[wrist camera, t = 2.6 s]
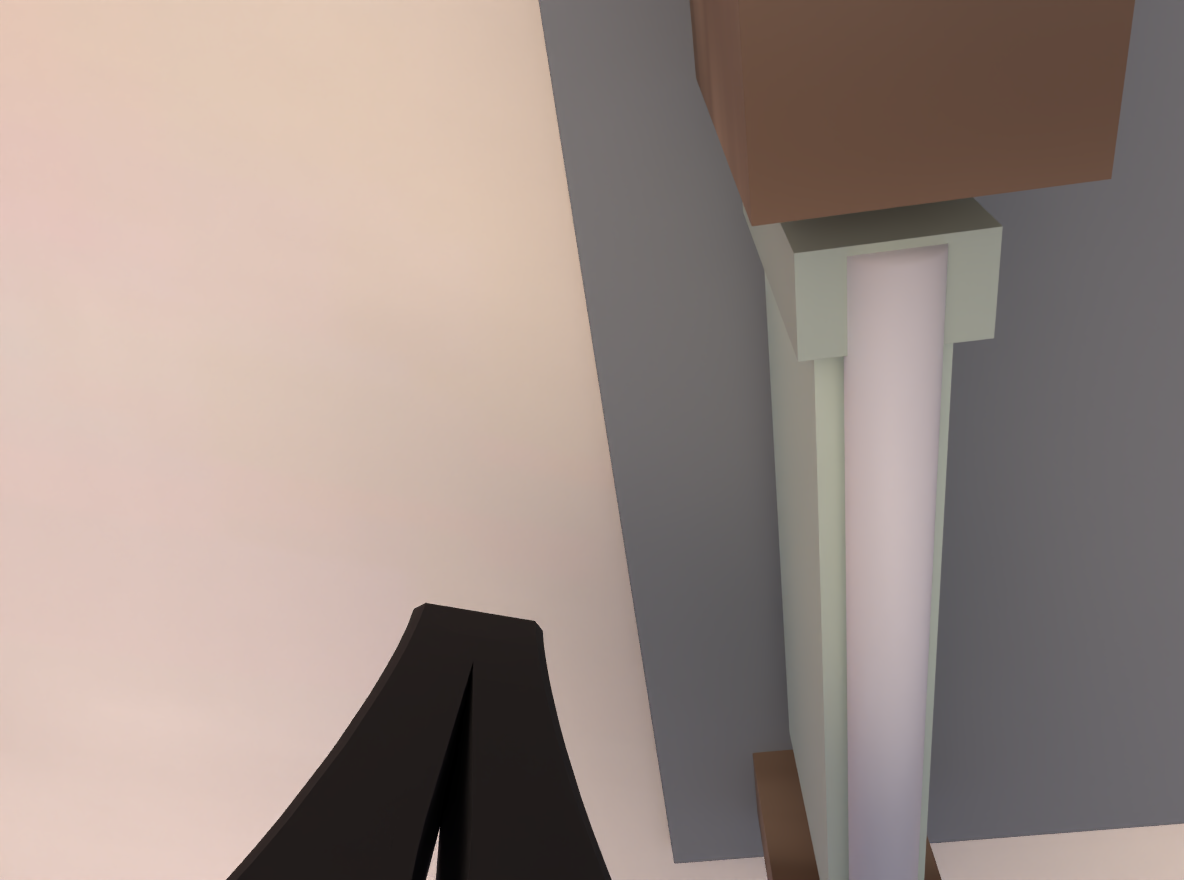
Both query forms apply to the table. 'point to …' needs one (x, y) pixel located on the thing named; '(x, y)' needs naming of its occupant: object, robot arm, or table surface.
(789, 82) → the gate posts
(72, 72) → the table surface
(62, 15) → the table surface
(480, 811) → the robot arm
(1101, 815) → the yard mat
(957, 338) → the gate
